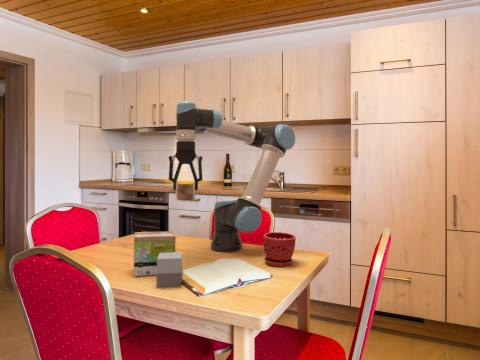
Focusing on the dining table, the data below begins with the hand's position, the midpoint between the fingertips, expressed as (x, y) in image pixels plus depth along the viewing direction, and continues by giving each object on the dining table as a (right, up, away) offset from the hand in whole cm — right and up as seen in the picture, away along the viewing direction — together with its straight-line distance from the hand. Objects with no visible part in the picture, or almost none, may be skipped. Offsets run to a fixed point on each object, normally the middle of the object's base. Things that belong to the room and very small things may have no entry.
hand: (185, 198), depth 148 cm
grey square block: (-2, -24, -22) cm, 32 cm away
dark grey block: (-2, -29, -22) cm, 36 cm away
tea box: (-11, -28, -9) cm, 31 cm away
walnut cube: (0, 0, 0) cm, 0 cm away
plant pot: (+38, -27, +3) cm, 47 cm away
